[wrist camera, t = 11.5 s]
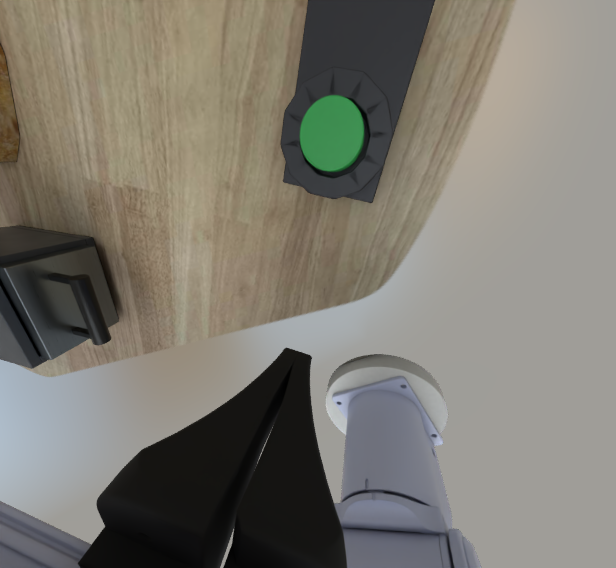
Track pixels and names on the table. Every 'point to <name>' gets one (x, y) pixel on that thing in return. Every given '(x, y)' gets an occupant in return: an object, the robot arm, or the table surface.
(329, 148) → the button
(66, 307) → the drawer
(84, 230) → the table surface
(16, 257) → the cabinet
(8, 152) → the bread
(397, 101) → the block
